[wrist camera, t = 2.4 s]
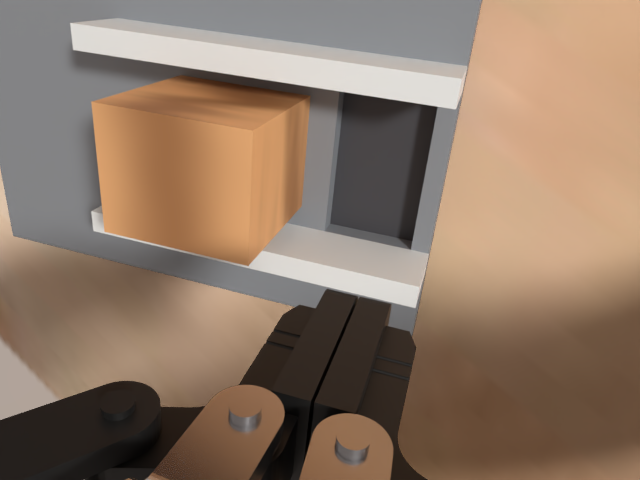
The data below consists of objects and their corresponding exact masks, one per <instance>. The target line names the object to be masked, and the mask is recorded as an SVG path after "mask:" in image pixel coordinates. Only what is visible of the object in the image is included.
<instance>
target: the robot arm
mask: <svg viewBox="0 0 640 480" xmlns="http://www.w3.org/2000/svg"><path fill="white" fill-rule="evenodd" d="M391 306H392V304H390V303H386V302H381V301H377V300H373V299H369V298H364V297H359V299H358V296H355V295H351V294H347V293H343V292H339V291H334V290H330V289H326V290H325V292H324V294H323V296H322V297H321V299H320V301H319V303H318V305H317V307H316V308H312V307H308V306H304V305H298V306H296V307H295V308H293V309H291V310H290V311H288V312H287V313H285V314H283V316H282V317H281V319H280V320H279V322H278V323H277V325H276V327H275V328H274V331H273V332H272V333H271V335H270V336H269V338H268V339H267V342H266V344H264V346H263V347H262V349H261V350H260V352H259V354H258V355H257V357H256V358H255V360H254V362H253V363H252V365H251V366H250V368H249V370H248V371H247V373H246V374H245V376H244V377H243V379H242V381H241V382H240V384H239V385H237V386H233V387H229V388H227V389H224V390H222V391H220V392H219V393H217V394H216V395H215V396H214V397H213V398H212V399H211V400H210V401H209V402H208V404H207V405H206V406H203V407H193V408H184V407H161V406H160V399H159V396H158V394H157V393H156V392H155V390H153V389H152V388H151V387H149V386H147V385H146V384H143V383H140V382H135V381H119V382H113V383H109V384H106V385H103V386H100V387H97V388H94V389H91V390H88V391H85V392H82V393H79V394H76V395H73V396H70V397H67V398H65V399H62V400H59V401H56V402H53V403H50V404H47V405H44V406H41V407H38V408H35V409H32V410H29V411H26V412H24V413H20V414H17V415H14V416H11V417H8V418H6V419H3V420H0V480H84V479H85V480H427V479H426V478H424V477H423V476H421V475H420V474H418V473H417V472H416V471H415V470H414V469H413V468H412V467H411V466H410V465H409V464H408V463H407V462H406V460H405V459H404V457H403V455H402V453H401V451H400V449H399V445H398V438H397V437H398V430H399V425H400V420H401V416H402V411H403V406H404V402H405V397H406V392H407V388H408V383H409V379H410V374H411V369H412V365H413V360H414V355H415V351H416V346H415V344H414V341H413V339H412V336H411V334H410V331H406V330H402V329H398V328H394V327H390V326H388V324H389V318H390V313H391Z"/></svg>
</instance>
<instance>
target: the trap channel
mask: <svg viewBox="0 0 640 480" xmlns="http://www.w3.org/2000/svg"><path fill="white" fill-rule="evenodd" d="M481 3H482V0H0V168H1V173H2V178H3V184H4V189H5V194H6V200H7V205H8V210H9V216H10V221H11V226H12V232H13V236H16V237H20V238H24V239H28V240H32V241H36V242H40V243H43V244H47V245H51V246H55V247H59V248H63V249H67V250H71V251H75V252H79V253H83V254H87V255H91V256H95V257H99V258H103V259H107V260H111V261H115V262H119V263H123V264H127V265H131V266H135V267H139V268H143V269H147V270H151V271H155V272H159V273H163V274H167V275H171V276H175V277H179V278H183V279H187V280H190V281H194V282H198V283H202V284H206V285H210V286H214V287H218V288H222V289H226V290H230V291H234V292H238V293H242V294H246V295H250V296H254V297H258V298H262V299H266V300H270V301H274V302H278V303H282V304H286V305H290V306H294V307H296V306H298V305H304V306H308V307H312V308H316V307H317V305H318V303H319V301H320V299H321V297H322V296H323V294H324V292H325V290H326V289H330V290H334V291H339V292H343V293H347V294H351V295H355V296H358V299H359V297H364V298H369V299H373V300H377V301H381V302H386V303H390V304H392V306H391V313H390V318H389V324H388V326H390V327H394V328H398V329H402V330H406V331H410V334H411V336H412V334H413V330H414V326H415V322H416V318H417V313H418V308H419V303H420V298H421V293H422V289H423V284H424V279H425V274H426V269H427V264H428V259H429V255H430V250H431V245H432V240H433V235H434V230H435V226H436V221H437V216H438V211H439V206H440V201H441V197H442V192H443V187H444V182H445V177H446V172H447V168H448V163H449V158H450V153H451V148H452V143H453V139H454V134H455V129H456V124H457V119H458V114H459V109H460V105H461V100H462V95H463V90H464V85H465V80H466V76H467V71H468V66H469V61H470V56H471V51H472V47H473V42H474V37H475V32H476V27H477V22H478V18H479V13H480V8H481ZM180 75H183V76H189V77H196V78H202V79H208V80H214V81H221V82H227V83H233V84H240V85H246V86H252V87H258V88H265V89H271V90H277V91H284V92H290V93H296V94H302V95H309V96H311V97H310V109H309V121H308V134H307V146H306V159H305V171H304V183H303V196H302V206H301V208H300V209H299V210H298V211H297V212H296V213H295V214H294V215H293V216H292V218H291V219H290V220H289V221H288V222H287V223H286V224H285V225H284V227H283V228H282V229H281V230H280V231H279V232H278V233H277V234H276V236H275V237H274V238H273V239H272V240H271V241H270V242H269V243H268V244H267V246H266V247H265V248H264V249H263V250H262V251H261V252H260V253H259V255H258V256H257V257H256V258H255V259H254V260H253V261H252V262H251V264H250V265H249V266H246V265H242V264H237V263H233V262H229V261H225V260H221V259H216V258H212V257H208V256H204V255H200V254H196V253H191V252H187V251H183V250H179V249H175V248H170V247H166V246H162V245H158V244H154V243H150V242H145V241H141V240H137V239H133V238H129V237H124V236H120V235H116V234H112V233H108V232H104V222H103V212H102V202H101V192H100V183H99V173H98V163H97V153H96V143H95V133H94V124H93V114H92V104H91V102H92V101H96V100H99V99H102V98H106V97H109V96H112V95H116V94H119V93H122V92H126V91H129V90H133V89H136V88H139V87H143V86H146V85H149V84H153V83H156V82H159V81H163V80H166V79H169V78H173V77H176V76H180Z"/></svg>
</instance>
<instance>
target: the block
mask: <svg viewBox="0 0 640 480" xmlns="http://www.w3.org/2000/svg"><path fill="white" fill-rule="evenodd" d="M310 97H311V96H309V95H302V94H296V93H290V92H284V91H277V90H271V89H265V88H258V87H252V86H246V85H240V84H233V83H227V82H221V81H214V80H208V79H202V78H196V77H189V76H183V75H180V76H176V77H173V78H169V79H166V80H163V81H159V82H156V83H153V84H149V85H146V86H143V87H139V88H136V89H133V90H129V91H126V92H122V93H119V94H116V95H112V96H109V97H106V98H102V99H99V100H96V101H92V102H91V104H92V114H93V124H94V133H95V143H96V153H97V163H98V173H99V183H100V192H101V202H102V212H103V222H104V232H108V233H112V234H116V235H120V236H124V237H129V238H133V239H137V240H141V241H145V242H150V243H154V244H158V245H162V246H166V247H170V248H175V249H179V250H183V251H187V252H191V253H196V254H200V255H204V256H208V257H212V258H216V259H221V260H225V261H229V262H233V263H237V264H242V265H246V266H249V265H250V264H251V262H252V261H253V260H254V259H255V258H256V257H257V256H258V255H259V253H260V252H261V251H262V250H263V249H264V248H265V247H266V246H267V244H268V243H269V242H270V241H271V240H272V239H273V238H274V237H275V236H276V234H277V233H278V232H279V231H280V230H281V229H282V228H283V227H284V225H285V224H286V223H287V222H288V221H289V220H290V219H291V218H292V216H293V215H294V214H295V213H296V212H297V211H298V210H299V209H300V208H301V206H302V196H303V183H304V171H305V159H306V146H307V134H308V121H309V109H310Z"/></svg>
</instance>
